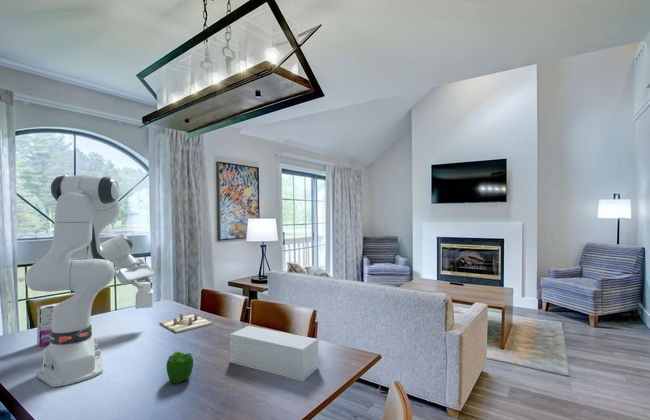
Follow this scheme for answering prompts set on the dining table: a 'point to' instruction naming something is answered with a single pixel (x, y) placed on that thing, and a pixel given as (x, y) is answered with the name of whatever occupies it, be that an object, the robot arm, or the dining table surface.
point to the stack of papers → (274, 352)
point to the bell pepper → (179, 367)
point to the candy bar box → (44, 324)
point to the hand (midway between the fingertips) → (146, 286)
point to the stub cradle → (185, 323)
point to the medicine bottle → (144, 295)
